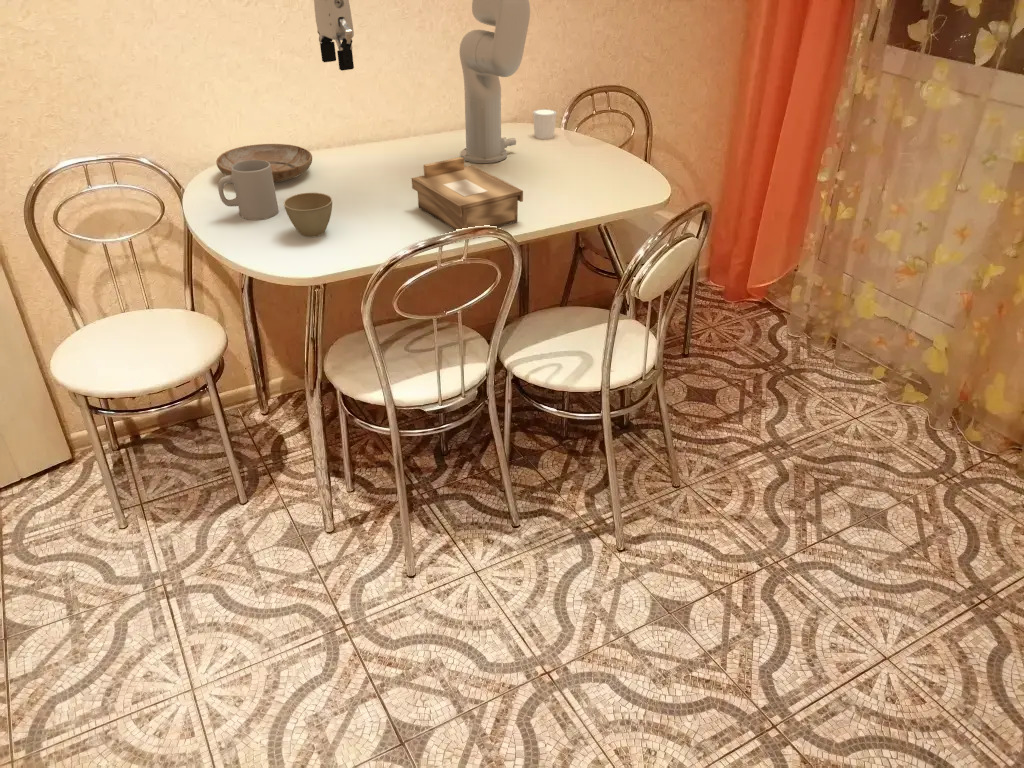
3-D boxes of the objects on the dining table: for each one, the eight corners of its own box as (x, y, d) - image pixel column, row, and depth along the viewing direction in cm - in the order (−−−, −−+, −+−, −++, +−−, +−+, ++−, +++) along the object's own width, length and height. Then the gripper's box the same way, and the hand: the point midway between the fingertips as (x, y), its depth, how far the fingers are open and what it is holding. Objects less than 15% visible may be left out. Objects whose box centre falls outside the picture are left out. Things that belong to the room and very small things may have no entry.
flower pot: (279, 237, 164) (273, 205, 160) (307, 220, 172) (302, 189, 168) (318, 245, 161) (313, 212, 157) (345, 228, 169) (341, 196, 165)
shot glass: (530, 139, 224) (531, 114, 220) (534, 132, 229) (534, 108, 226) (554, 140, 223) (555, 115, 219) (557, 133, 229) (558, 109, 225)
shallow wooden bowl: (235, 198, 184) (230, 178, 181) (209, 170, 200) (205, 151, 197) (327, 181, 194) (325, 161, 191) (296, 156, 210) (293, 137, 208)
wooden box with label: (472, 175, 184) (471, 154, 181) (522, 201, 170) (523, 179, 167) (412, 188, 176) (410, 166, 173) (459, 217, 162) (459, 194, 159)
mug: (273, 203, 181) (265, 157, 174) (282, 216, 174) (274, 168, 168) (221, 212, 176) (210, 165, 170) (228, 225, 170) (218, 176, 163)
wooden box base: (469, 195, 186) (469, 170, 182) (517, 222, 172) (517, 196, 169) (418, 207, 179) (416, 182, 176) (464, 236, 165) (463, 209, 162)
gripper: (361, -18, 158) (369, 70, 168) (328, -26, 170) (338, 56, 180) (326, -15, 155) (337, 75, 164) (295, -24, 167) (307, 60, 176)
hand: (337, 65), depth 172 cm, fingers open, 9 cm apart
